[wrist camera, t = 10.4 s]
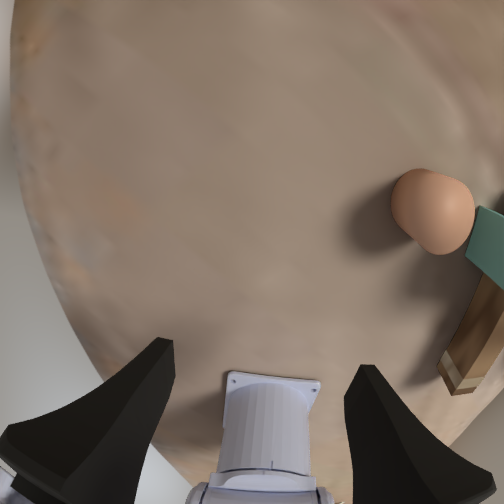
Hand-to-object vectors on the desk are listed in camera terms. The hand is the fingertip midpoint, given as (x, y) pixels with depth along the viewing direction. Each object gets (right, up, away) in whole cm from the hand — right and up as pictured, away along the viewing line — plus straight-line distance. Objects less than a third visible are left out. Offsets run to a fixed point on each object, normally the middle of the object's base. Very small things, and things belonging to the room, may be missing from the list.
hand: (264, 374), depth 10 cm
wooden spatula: (+20, +2, +8) cm, 21 cm away
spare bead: (+10, +8, +6) cm, 14 cm away
